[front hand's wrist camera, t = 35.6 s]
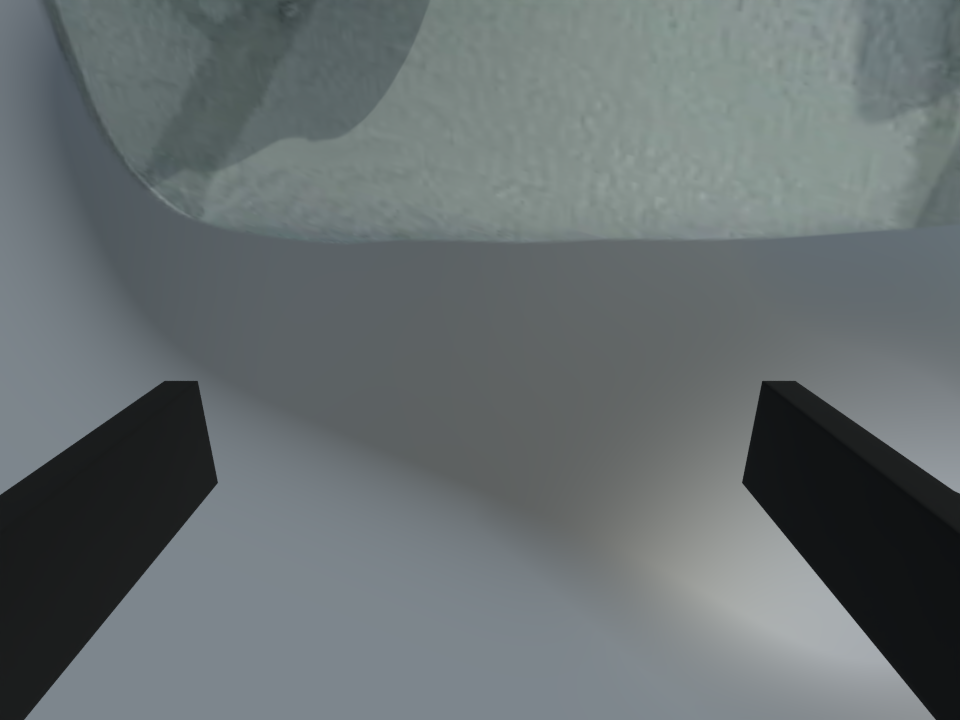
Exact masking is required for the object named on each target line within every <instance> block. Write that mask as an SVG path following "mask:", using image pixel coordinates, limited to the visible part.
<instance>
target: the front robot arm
mask: <svg viewBox="0 0 960 720" xmlns="http://www.w3.org/2000/svg"><path fill="white" fill-rule="evenodd" d="M217 483H218V481H217V476H216V471H215V466H214V461H213V456H212V451H211V446H210V441H209V436H208V431H207V426H206V421H205V416H204V411H203V406H202V401H201V395H200V390H199V386H198V381H164V382H163V383H161V384H160V385H158V386H157V387H155V388H154V389H152V390H151V391H150V392H148V393H147V394H145V395H144V396H142V397H141V398H139V399H138V400H137V401H135V402H134V403H132V404H131V405H129V406H128V407H127V408H125V409H124V410H122V411H121V412H119V413H118V414H116V415H115V416H114V417H112V418H111V419H109V420H108V421H106V422H105V423H103V424H102V425H101V426H99V427H98V428H96V429H95V430H93V431H92V432H90V433H89V434H88V435H86V436H85V437H83V438H82V439H80V440H79V441H78V442H76V443H75V444H73V445H72V446H70V447H69V448H67V449H66V450H65V451H63V452H62V453H60V454H59V455H57V456H56V457H54V458H53V459H52V460H50V461H49V462H47V463H46V464H44V465H43V466H42V467H40V468H39V469H37V470H36V471H34V472H33V473H31V474H30V475H29V476H27V477H26V478H24V479H23V480H21V481H20V482H18V483H17V484H16V485H14V486H13V487H11V488H10V489H8V490H7V491H5V492H4V493H3V494H1V495H0V720H24V719H25V718H26V717H27V715H28V714H29V713H30V712H31V711H32V709H33V708H34V707H35V706H36V704H37V703H38V702H39V701H40V700H41V698H42V697H43V696H44V695H45V694H46V692H47V691H48V690H49V689H50V687H51V686H52V685H53V684H54V683H55V681H56V680H57V679H58V678H59V676H60V675H61V674H62V673H63V671H64V670H65V669H66V668H67V667H68V665H69V664H70V663H71V662H72V661H73V659H74V658H75V657H76V656H77V654H78V653H79V652H80V651H81V650H82V648H83V647H84V646H85V645H86V643H87V642H88V641H89V640H90V639H91V637H92V636H93V635H94V634H95V632H96V631H97V630H98V629H99V627H100V626H101V625H102V624H103V623H104V621H105V620H106V619H107V618H108V616H109V615H110V614H111V613H112V612H113V610H114V609H115V608H116V607H117V605H118V604H119V603H120V602H121V601H122V599H123V598H124V597H125V596H126V594H127V593H128V592H129V591H130V590H131V588H132V587H133V586H134V585H135V583H136V582H137V581H138V580H139V579H140V577H141V576H142V575H143V574H144V572H145V571H146V570H147V569H148V568H149V566H150V565H151V564H152V563H153V561H154V560H155V559H156V558H157V557H158V555H159V554H160V553H161V552H162V550H163V549H164V548H165V547H166V546H167V544H168V543H169V542H170V541H171V539H172V538H173V537H174V536H175V535H176V533H177V532H178V531H179V530H180V528H181V527H182V526H183V525H184V524H185V522H186V521H187V520H188V519H189V517H190V516H191V515H192V514H193V513H194V511H195V510H196V509H197V508H198V506H199V505H200V504H201V503H202V502H203V500H204V499H205V498H206V497H207V495H208V494H209V493H210V492H211V491H212V489H213V488H214V487H215V486H216V484H217ZM742 483H743V484H744V486H745V487H746V488H747V489H748V491H749V492H750V493H751V494H752V495H753V497H754V498H755V499H756V500H757V502H758V503H759V504H760V505H761V506H762V508H763V509H764V510H765V511H766V513H767V514H768V515H769V516H770V517H771V519H772V520H773V521H774V522H775V524H776V525H777V526H778V527H779V528H780V530H781V531H782V532H783V533H784V535H785V536H786V537H787V538H788V539H789V541H790V542H791V543H792V544H793V546H794V547H795V548H796V549H797V550H798V552H799V553H800V554H801V555H802V557H803V558H804V559H805V560H806V561H807V563H808V564H809V565H810V566H811V568H812V569H813V570H814V571H815V572H816V574H817V575H818V576H819V577H820V579H821V580H822V581H823V582H824V583H825V585H826V586H827V587H828V588H829V590H830V591H831V592H832V593H833V594H834V596H835V597H836V598H837V599H838V601H839V602H840V603H841V604H842V605H843V607H844V608H845V609H846V610H847V612H848V613H849V614H850V615H851V617H852V618H853V619H854V620H855V621H856V623H857V624H858V625H859V626H860V628H861V629H862V630H863V631H864V632H865V633H866V635H867V636H868V637H869V638H870V640H871V641H872V642H873V643H874V645H875V646H876V647H877V648H878V649H879V651H880V652H881V653H882V654H883V656H884V657H885V658H886V659H887V660H888V662H889V663H890V664H891V665H892V667H893V668H894V669H895V670H896V672H897V673H898V674H899V675H900V676H901V678H902V679H903V680H904V681H905V683H906V684H907V685H908V686H909V687H910V689H911V690H912V691H913V692H914V694H915V695H916V696H917V697H918V698H919V700H920V701H921V702H922V703H923V705H924V706H925V707H926V708H927V709H928V711H929V712H930V713H931V714H932V716H933V717H934V718H935V719H936V720H960V494H959V493H957V492H955V491H953V490H952V489H950V488H949V487H947V486H946V485H944V484H943V483H942V482H940V481H939V480H937V479H936V478H934V477H933V476H931V475H930V474H929V473H927V472H926V471H924V470H923V469H921V468H920V467H919V466H917V465H916V464H914V463H913V462H911V461H910V460H908V459H907V458H906V457H904V456H903V455H901V454H900V453H898V452H897V451H895V450H894V449H893V448H891V447H890V446H888V445H887V444H885V443H884V442H882V441H881V440H880V439H878V438H877V437H875V436H874V435H872V434H871V433H869V432H868V431H867V430H865V429H864V428H862V427H861V426H859V425H858V424H857V423H855V422H854V421H852V420H851V419H849V418H848V417H846V416H845V415H844V414H842V413H841V412H839V411H838V410H836V409H835V408H833V407H832V406H831V405H829V404H828V403H826V402H825V401H823V400H822V399H820V398H819V397H818V396H816V395H815V394H813V393H812V392H810V391H809V390H807V389H806V388H805V387H803V386H802V385H800V384H799V383H797V382H796V381H762V386H761V390H760V395H759V401H758V406H757V411H756V416H755V421H754V426H753V431H752V436H751V441H750V446H749V451H748V456H747V461H746V466H745V471H744V476H743V481H742Z"/></svg>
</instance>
